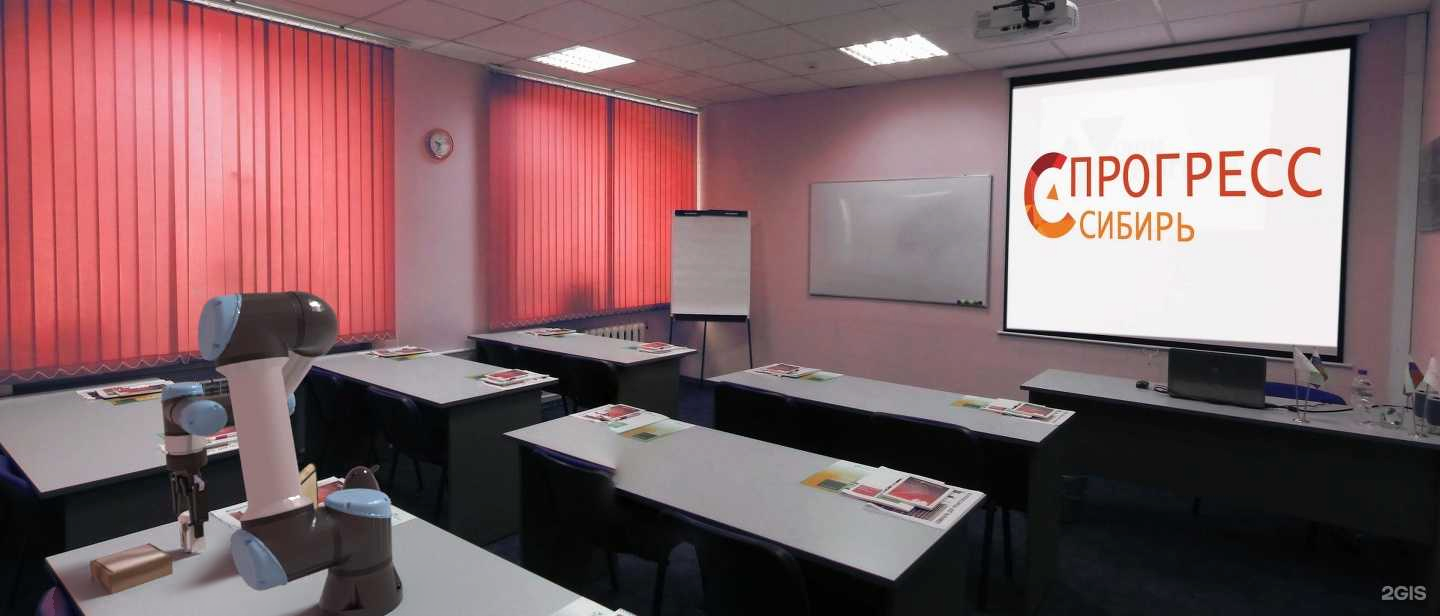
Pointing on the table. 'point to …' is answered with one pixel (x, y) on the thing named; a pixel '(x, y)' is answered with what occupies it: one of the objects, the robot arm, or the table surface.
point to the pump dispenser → (361, 479)
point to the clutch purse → (309, 483)
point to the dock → (131, 568)
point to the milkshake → (185, 530)
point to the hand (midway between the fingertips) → (193, 547)
